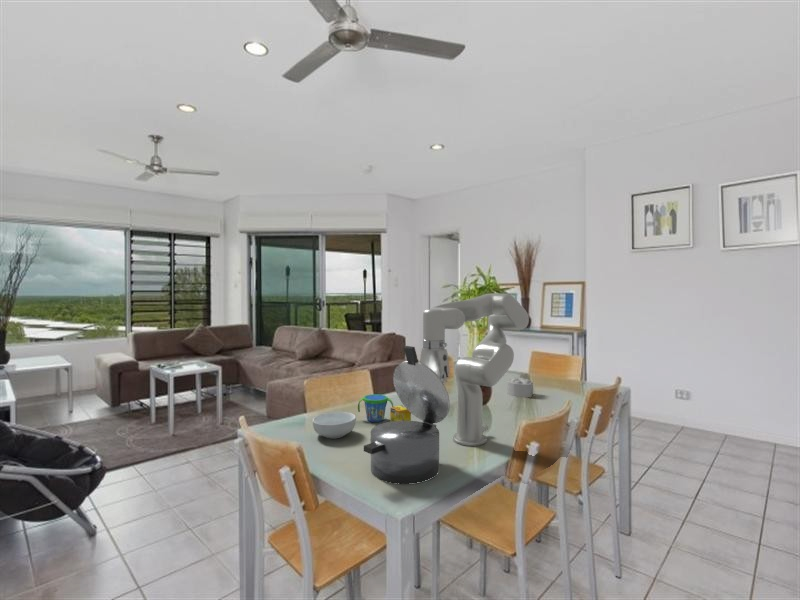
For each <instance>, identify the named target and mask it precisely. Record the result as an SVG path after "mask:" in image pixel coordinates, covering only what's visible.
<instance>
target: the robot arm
mask: <svg viewBox="0 0 800 600" xmlns="http://www.w3.org/2000/svg"><path fill="white" fill-rule="evenodd" d="M487 317H488V318H487ZM484 318H487V322H488V323H487V326H488V327H487V331H488V332H487V334H486V335H485V337H484V338H483V339H481V341H480V342H479V343H478V344H477V345H476V346H475V347H474V349H473V350H472V354H471V356H472V357H471V356H465V357H464V356H463V357H461V358H459V359H457V361H455V364H454V376H455V382H456V394H457V395H456V398H457V399H456V405H457V406H456V433H454V434H453V435H452V440H453V442H455V443H456V444H459V445H463V446H468V447H477V446H482V445H484V444H486V443H487V436H486V435H484V432H485V431H487V430H488V429H489V428H488V426H487V424H484V425H483V391H482V388H481V386H483V387H489V388H491V387H493V386H495V385H497V383H499V382H500V381H501V379H502V378H503V377H504V376H505V374H506V373H507V372H508V371H509V369H510V368H511V367H512V365H513V363H514V358H515V353H514V350H513V348H512V346H510V345H509V344H507V337H506V335H505V333H504V330H517V331H522V330H525V329H526V328H527V327H528V325H529V323H530V318H529V314H528V312H527V310H526V308H524V307H523V306H522V305H521V303H520V302H519V301H518V300H517V299H516V298H515V297H514V296H512V295H511V294H509V293H495V292H494V293H493V292H492V293H484V294H482V295H478V296H475V297H473V298H469V299H463V300H458V301H453V302H447V303H442V304H439V305H436V306H433V307H432V308H427V309H424V310H423V311H422V348H421V349H420V358H419V362H420V363H422V364H424V365H426V366H427V367H429V368H430V369H431V370H432V371H434V372H435V373H436V375H437V376H438V377H439V378H440V379H441V381H442V382H443V384H446V383H447V382H448V379H447V378H449V377H450V359H449V354H448V350H447V349H446V348H447V346H448V344H447V342H446V339H445V337H446V334H445V332H446V330H458V329H460V328H461V327H463V326H464V324H465V322H475V321H479V320H481V319H484Z"/></svg>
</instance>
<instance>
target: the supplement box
mask: <svg viewBox="0 0 800 600" xmlns="http://www.w3.org/2000/svg"><path fill="white" fill-rule="evenodd" d="M389 415H390V421H389V422H391V421H412V413H411V412H410V411H409V410H408V409H407V408H406V407H405V406H404V405H403V404H399V405H395V406H393V407H392V406H391V407H390V414H389Z"/></svg>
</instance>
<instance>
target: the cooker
mask: <svg viewBox="0 0 800 600" xmlns="http://www.w3.org/2000/svg"><path fill="white" fill-rule="evenodd" d="M363 452H364V453H367V454H370V472H371V474H372V475H373V477H374V478H376V477H377V479H378V480H381V481H382V480H383V481H382V482H385V481H387V482H386V483H389V482H391V484H394V483H397V484H396V485H410V484H409V483H416V484H418V483H417V482H422V481H425V480H428V479H430V478H432V477H434V476H435V477H437V475H438V474H439V472H440V429H438V428H437V424H436V423H433V424H429V423H426V422H423V421H417V420H411V421H391V422H390V421H387V422H383V423H379V424H377V425H376V426H374V427H372V429H371V430H370V442H369V443H368V444H365V445H363ZM437 473H438V474H437ZM435 477H434V478H435ZM432 479H433V478H432ZM430 480H431V479H430ZM428 481H429V480H428ZM425 482H426V481H425ZM398 483H399V484H398ZM422 483H423V482H422Z"/></svg>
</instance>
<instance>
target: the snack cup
mask: <svg viewBox="0 0 800 600" xmlns="http://www.w3.org/2000/svg"><path fill="white" fill-rule="evenodd" d="M361 401H363V402H364V408H365V415H366V420H367V421H369V423H371V422H372V423H377V422H378V423H380V422H382V421H384V420H385V415H386V407H387V405H388V401H389V403H390V404H391V407H394V403H393V401H392V399H391V398H389V397H388V396H387V395H386V394H379V393H378V394H377V393H376V394H367V395H364V396H363V397H362V398H361V399H359V401H358V403H357V412H358V413H360V412H361V409H360V408H361V406H360V403H361Z"/></svg>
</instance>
